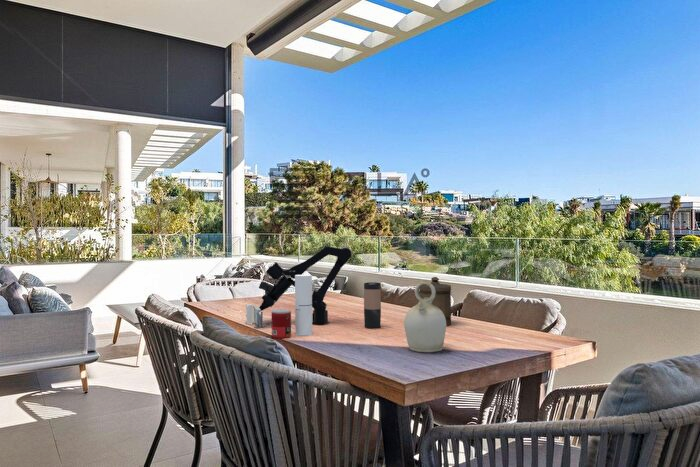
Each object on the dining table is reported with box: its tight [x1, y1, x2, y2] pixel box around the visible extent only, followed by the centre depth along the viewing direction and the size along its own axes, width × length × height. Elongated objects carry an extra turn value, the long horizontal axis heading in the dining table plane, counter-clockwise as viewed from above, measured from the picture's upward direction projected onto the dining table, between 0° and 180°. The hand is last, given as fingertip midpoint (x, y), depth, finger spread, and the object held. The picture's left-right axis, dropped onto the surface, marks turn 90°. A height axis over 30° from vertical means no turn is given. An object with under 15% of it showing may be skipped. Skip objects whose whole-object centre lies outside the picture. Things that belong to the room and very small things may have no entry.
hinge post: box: [253, 311, 267, 329], centre depth 231 cm, size 4×4×7 cm
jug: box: [403, 280, 447, 354], centre depth 188 cm, size 15×16×25 cm
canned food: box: [271, 308, 292, 340], centre depth 211 cm, size 8×8×11 cm
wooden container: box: [419, 276, 452, 327], centre depth 238 cm, size 15×15×22 cm
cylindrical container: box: [294, 274, 313, 337], centre depth 216 cm, size 7×7×25 cm
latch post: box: [245, 303, 254, 325], centre depth 243 cm, size 6×3×9 cm, turn 25°
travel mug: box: [363, 281, 382, 330], centre depth 230 cm, size 8×8×20 cm
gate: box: [253, 305, 262, 325], centre depth 239 cm, size 12×2×7 cm, turn 20°
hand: (258, 311), depth 240 cm, fingers closed
